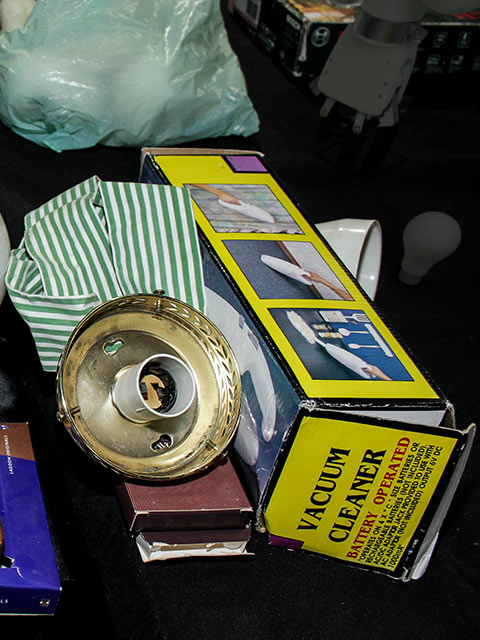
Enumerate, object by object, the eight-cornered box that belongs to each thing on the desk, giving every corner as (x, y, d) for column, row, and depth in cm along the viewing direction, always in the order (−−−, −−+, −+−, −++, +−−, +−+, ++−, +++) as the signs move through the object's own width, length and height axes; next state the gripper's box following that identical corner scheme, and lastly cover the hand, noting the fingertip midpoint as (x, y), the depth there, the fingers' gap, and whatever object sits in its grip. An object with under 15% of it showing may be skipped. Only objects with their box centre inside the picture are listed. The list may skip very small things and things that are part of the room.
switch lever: (341, 145, 124) (348, 125, 122) (321, 135, 126) (329, 115, 124) (396, 116, 129) (404, 96, 127) (376, 107, 131) (384, 87, 129)
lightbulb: (433, 280, 115) (473, 211, 107) (426, 306, 111) (467, 237, 104) (383, 264, 117) (419, 196, 110) (375, 289, 113) (411, 220, 106)
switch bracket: (362, 185, 131) (394, 114, 123) (316, 161, 136) (344, 91, 128) (401, 165, 135) (435, 95, 127) (355, 142, 140) (385, 74, 132)
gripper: (461, 41, 111) (401, 164, 124) (347, -4, 121) (302, 115, 133) (428, 55, 108) (369, 181, 121) (313, 8, 118) (270, 129, 130)
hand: (334, 145), depth 127 cm, fingers closed on switch lever, 3 cm apart
